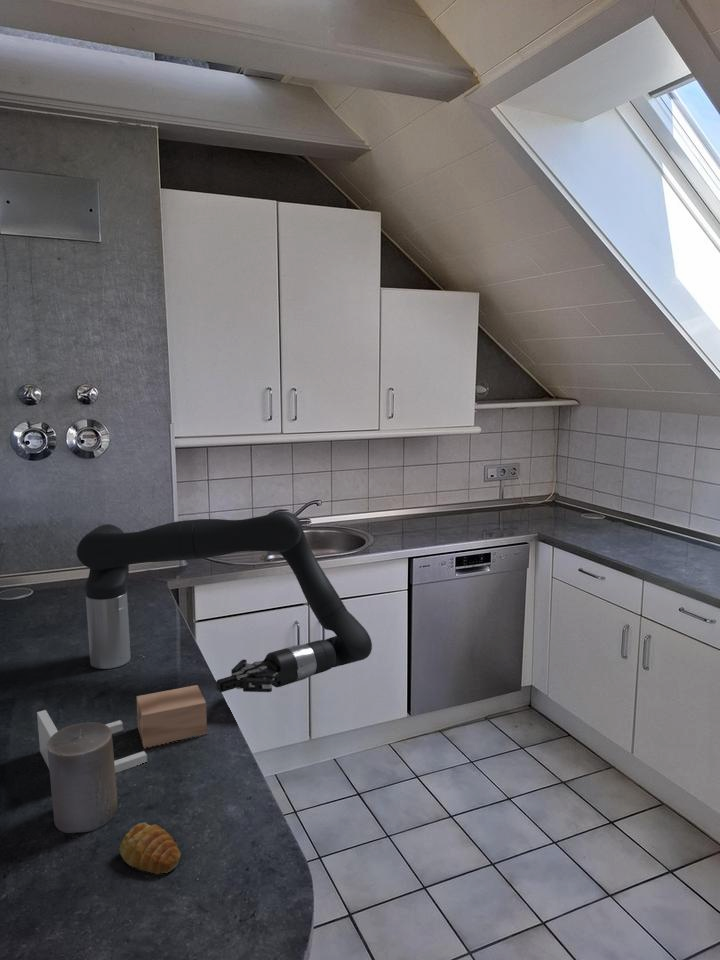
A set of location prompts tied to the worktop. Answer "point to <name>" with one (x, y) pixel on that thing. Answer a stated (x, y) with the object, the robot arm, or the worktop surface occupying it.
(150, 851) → the pastry
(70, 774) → the pillar candle
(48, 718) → the white frame piece
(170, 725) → the wooden block
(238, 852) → the worktop surface
